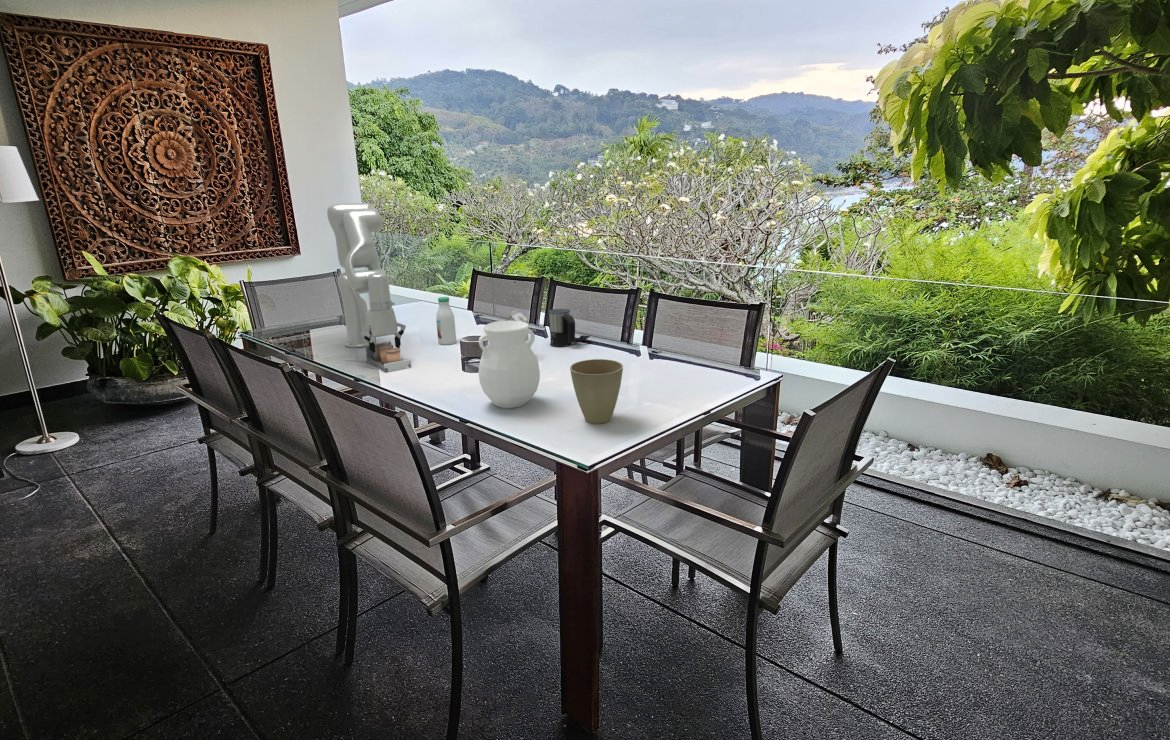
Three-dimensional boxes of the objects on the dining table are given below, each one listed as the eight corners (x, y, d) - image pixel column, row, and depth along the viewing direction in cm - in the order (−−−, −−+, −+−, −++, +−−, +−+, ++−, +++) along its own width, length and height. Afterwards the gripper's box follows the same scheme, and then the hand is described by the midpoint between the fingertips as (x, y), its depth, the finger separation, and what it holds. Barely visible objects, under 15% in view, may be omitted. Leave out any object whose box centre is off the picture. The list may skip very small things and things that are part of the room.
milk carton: (505, 359, 240) (502, 311, 234) (513, 355, 246) (511, 308, 241) (521, 361, 237) (518, 312, 232) (529, 356, 243) (527, 309, 238)
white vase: (489, 418, 180) (483, 334, 172) (474, 399, 196) (468, 322, 189) (549, 408, 187) (546, 327, 179) (530, 390, 203) (526, 316, 196)
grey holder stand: (367, 361, 242) (365, 346, 240) (392, 356, 248) (390, 342, 246) (385, 372, 227) (383, 356, 225) (411, 367, 233) (409, 352, 231)
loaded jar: (385, 367, 233) (383, 349, 231) (399, 365, 236) (397, 347, 234) (390, 370, 229) (388, 352, 227) (404, 367, 232) (402, 350, 230)
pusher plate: (368, 357, 245) (366, 340, 243) (385, 354, 249) (383, 338, 247) (375, 362, 239) (373, 344, 237) (392, 358, 243) (390, 341, 241)
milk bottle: (458, 340, 271) (454, 295, 266) (453, 345, 264) (449, 299, 258) (441, 340, 272) (437, 296, 266) (435, 345, 265) (431, 299, 259)
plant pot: (580, 408, 186) (579, 357, 181) (628, 412, 181) (628, 360, 177) (564, 426, 172) (562, 372, 167) (616, 431, 168) (615, 375, 163)
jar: (378, 363, 239) (376, 346, 237) (392, 361, 242) (390, 343, 240) (383, 366, 235) (381, 348, 233) (397, 363, 238) (395, 346, 236)
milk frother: (545, 345, 260) (543, 311, 256) (567, 337, 272) (566, 304, 268) (572, 350, 252) (571, 314, 248) (594, 341, 264) (593, 307, 260)
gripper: (399, 301, 240) (403, 343, 245) (354, 307, 230) (359, 351, 235) (406, 304, 234) (410, 348, 239) (361, 311, 224) (366, 355, 229)
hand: (385, 349), depth 237 cm, fingers open, 9 cm apart
